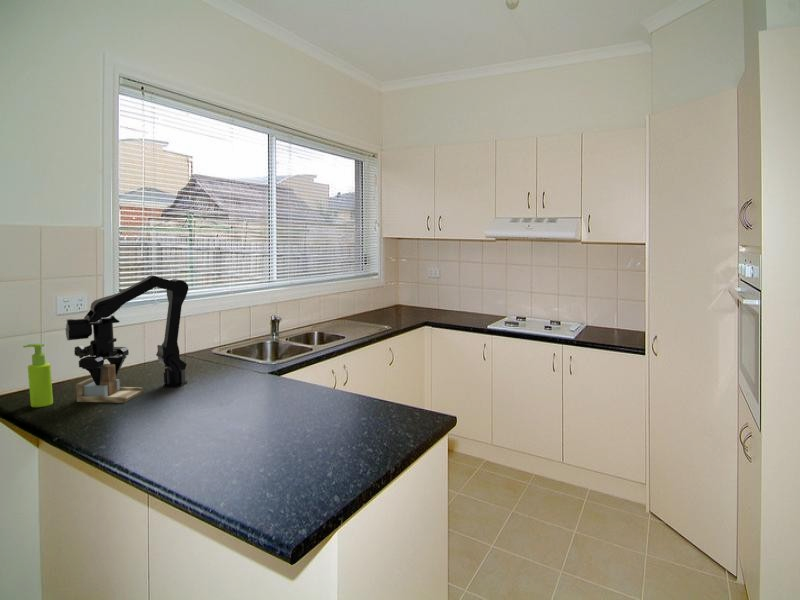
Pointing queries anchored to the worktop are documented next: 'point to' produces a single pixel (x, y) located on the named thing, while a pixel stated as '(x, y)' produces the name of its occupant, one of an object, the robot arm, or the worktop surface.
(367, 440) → the worktop surface
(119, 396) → the shallow wooden tray
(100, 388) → the block
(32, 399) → the soap dispenser
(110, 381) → the wooden post
